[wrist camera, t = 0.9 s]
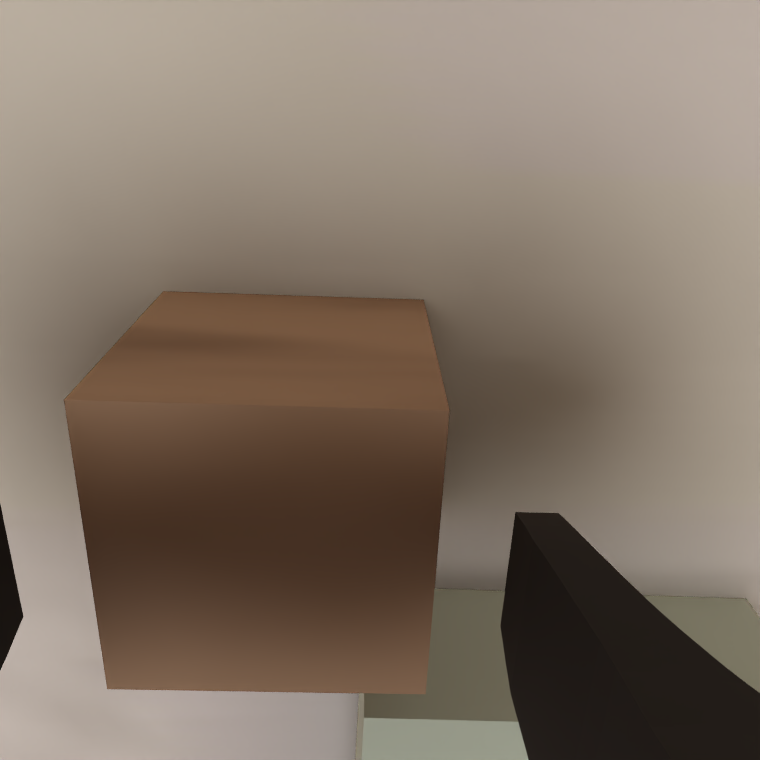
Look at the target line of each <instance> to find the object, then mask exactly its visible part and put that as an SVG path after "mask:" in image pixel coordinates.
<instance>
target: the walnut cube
mask: <svg viewBox="0 0 760 760" xmlns="http://www.w3.org/2000/svg"><path fill="white" fill-rule="evenodd" d="M64 403H65V410H66V417H67V423H68V430H69V437H70V443H71V450H72V457H73V463H74V470H75V477H76V483H77V490H78V497H79V503H80V510H81V517H82V523H83V530H84V537H85V543H86V550H87V557H88V563H89V570H90V577H91V583H92V590H93V597H94V603H95V610H96V617H97V623H98V630H99V637H100V643H101V650H102V657H103V663H104V670H105V677H106V683H107V689H136V690H196V691H255V692H315V693H375V694H426V684H427V672H428V660H429V649H430V637H431V625H432V613H433V601H434V589H435V578H436V566H437V554H438V542H439V530H440V519H441V507H442V495H443V483H444V471H445V460H446V448H447V436H448V424H449V412H450V410H449V406H448V401H447V397H446V393H445V389H444V385H443V380H442V376H441V372H440V368H439V363H438V359H437V355H436V351H435V346H434V342H433V338H432V334H431V330H430V325H429V321H428V317H427V313H426V308H425V304H424V300H415V299H384V298H353V297H322V296H291V295H259V294H228V293H197V292H166V291H163V292H162V293H161V295H160V296H159V297H158V298H157V299H156V300H155V301H154V302H153V303H152V304H151V305H150V307H149V308H148V309H147V310H146V311H145V312H144V313H143V314H142V315H141V316H140V317H139V319H138V320H137V321H136V322H135V323H134V324H133V325H132V326H131V327H130V328H129V329H128V331H127V332H126V333H125V334H124V335H123V336H122V337H121V338H120V339H119V340H118V341H117V343H116V344H115V345H114V346H113V347H112V348H111V349H110V350H109V351H108V352H107V353H106V355H105V356H104V357H103V358H102V359H101V360H100V361H99V362H98V363H97V364H96V365H95V367H94V368H93V369H92V370H91V371H90V372H89V373H88V374H87V375H86V376H85V377H84V379H83V380H82V381H81V382H80V383H79V384H78V385H77V386H76V387H75V388H74V389H73V391H72V392H71V393H70V394H69V395H68V396H67V397H66V398H65V399H64Z"/></svg>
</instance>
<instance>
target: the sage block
mask: <svg viewBox="0 0 760 760" xmlns="http://www.w3.org/2000/svg"><path fill="white" fill-rule="evenodd" d="M504 595H505V591H496V590H465V589H434V601H433V613H432V625H431V637H430V649H429V660H428V672H427V684H426V694H375V693H359V700H358V718H357V736H356V754H355V760H529V759H528V756H527V752H526V749H525V745H524V741H523V738H522V734H521V730H520V727H519V723H518V719H517V716H516V712H515V708H514V704H513V701H512V697H511V693H510V687H509V681H508V674H507V668H506V662H505V655H504V648H503V641H502V634H501V627H500V624H501V617H502V609H503V602H504ZM643 596H644V597H645V598H646V599H647V600H648V601H649V602H650V603H652V604H653V605H654V606H655V607H656V608H657V609H658V610H659V611H660V612H661V613H663V614H664V615H665V616H666V617H667V618H668V619H669V620H670V621H672V622H673V623H674V624H675V625H676V626H677V627H678V628H680V629H681V630H682V631H683V632H684V633H685V634H687V635H688V636H689V637H690V638H691V639H693V640H694V641H695V642H696V643H697V644H699V645H700V646H701V647H702V648H703V649H705V650H706V651H707V652H708V653H709V654H711V655H712V656H713V657H714V658H715V659H717V660H718V661H719V662H720V663H721V664H723V665H724V666H725V667H726V668H728V669H729V670H730V671H731V672H733V673H734V674H735V675H737V676H738V677H739V678H740V679H742V680H743V681H744V682H746V683H747V684H748V685H750V686H751V687H752V688H754V689H755V690H756V691H758V692H759V693H760V617H759V616H758V615H757V613H756V612H755V610H754V609H753V608H752V606H751V605H750V603H749V602H748V601H747V599H744V598H713V597H682V596H651V595H643Z"/></svg>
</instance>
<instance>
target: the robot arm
mask: <svg viewBox="0 0 760 760" xmlns="http://www.w3.org/2000/svg"><path fill="white" fill-rule="evenodd" d="M22 618H23V613H22V608H21V603H20V598H19V593H18V588H17V584H16V579H15V574H14V569H13V564H12V559H11V554H10V549H9V544H8V540H7V535H6V530H5V525H4V520H3V515H2V510H1V505H0V670H1V668H2V665H3V663H4V661H5V659H6V657H7V654H8V652H9V650H10V647H11V645H12V642H13V640H14V637H15V635H16V633H17V630H18V628H19V625H20V623H21V621H22ZM500 627H501V634H502V641H503V648H504V655H505V662H506V668H507V674H508V681H509V687H510V693H511V697H512V701H513V704H514V708H515V712H516V716H517V719H518V723H519V727H520V730H521V734H522V738H523V741H524V745H525V749H526V752H527V756H528V759H529V760H760V693H759V692H758V691H756V690H755V689H754V688H752V687H751V686H750V685H748V684H747V683H746V682H744V681H743V680H742V679H740V678H739V677H738V676H737V675H735V674H734V673H733V672H731V671H730V670H729V669H728V668H726V667H725V666H724V665H723V664H721V663H720V662H719V661H718V660H717V659H715V658H714V657H713V656H712V655H711V654H709V653H708V652H707V651H706V650H705V649H703V648H702V647H701V646H700V645H699V644H697V643H696V642H695V641H694V640H693V639H691V638H690V637H689V636H688V635H687V634H685V633H684V632H683V631H682V630H681V629H680V628H678V627H677V626H676V625H675V624H674V623H673V622H672V621H670V620H669V619H668V618H667V617H666V616H665V615H664V614H663V613H661V612H660V611H659V610H658V609H657V608H656V607H655V606H654V605H653V604H652V603H650V602H649V601H648V600H647V599H646V598H645V597H644V596H643V595H642V594H641V593H640V592H639V591H638V590H637V589H635V588H634V587H633V586H632V585H631V584H630V583H629V582H628V581H627V580H626V579H625V578H624V577H623V576H622V575H621V574H620V573H619V572H618V571H617V570H616V569H615V568H614V567H613V566H612V565H611V564H610V563H609V562H607V561H606V560H605V559H604V558H603V557H602V556H601V555H600V554H599V553H598V552H597V551H596V550H595V549H594V548H593V547H592V546H591V545H590V544H589V543H588V542H587V541H586V540H585V539H584V538H583V537H582V536H581V535H580V534H579V533H578V532H577V531H576V530H575V529H574V528H573V527H572V526H571V525H570V524H569V523H568V522H567V521H566V520H565V519H564V518H563V517H562V516H561V515H560V514H559V513H526V512H516V513H515V520H514V528H513V535H512V542H511V550H510V557H509V565H508V572H507V580H506V587H505V595H504V602H503V609H502V617H501V624H500Z"/></svg>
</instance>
